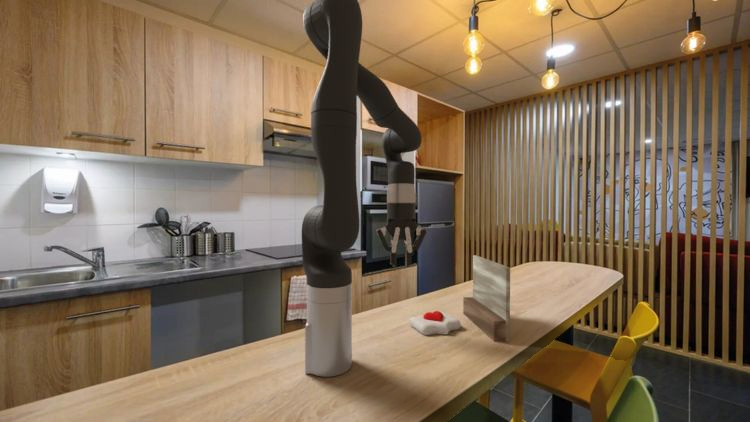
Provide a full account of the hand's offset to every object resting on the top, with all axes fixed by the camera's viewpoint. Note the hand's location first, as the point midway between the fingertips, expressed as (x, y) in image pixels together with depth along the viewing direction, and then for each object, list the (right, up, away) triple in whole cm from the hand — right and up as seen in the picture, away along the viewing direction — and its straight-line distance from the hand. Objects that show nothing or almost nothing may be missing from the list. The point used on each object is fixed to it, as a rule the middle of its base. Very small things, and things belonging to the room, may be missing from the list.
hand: (401, 266), depth 83 cm
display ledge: (+23, -17, +3) cm, 29 cm away
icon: (+10, -18, +2) cm, 20 cm away
